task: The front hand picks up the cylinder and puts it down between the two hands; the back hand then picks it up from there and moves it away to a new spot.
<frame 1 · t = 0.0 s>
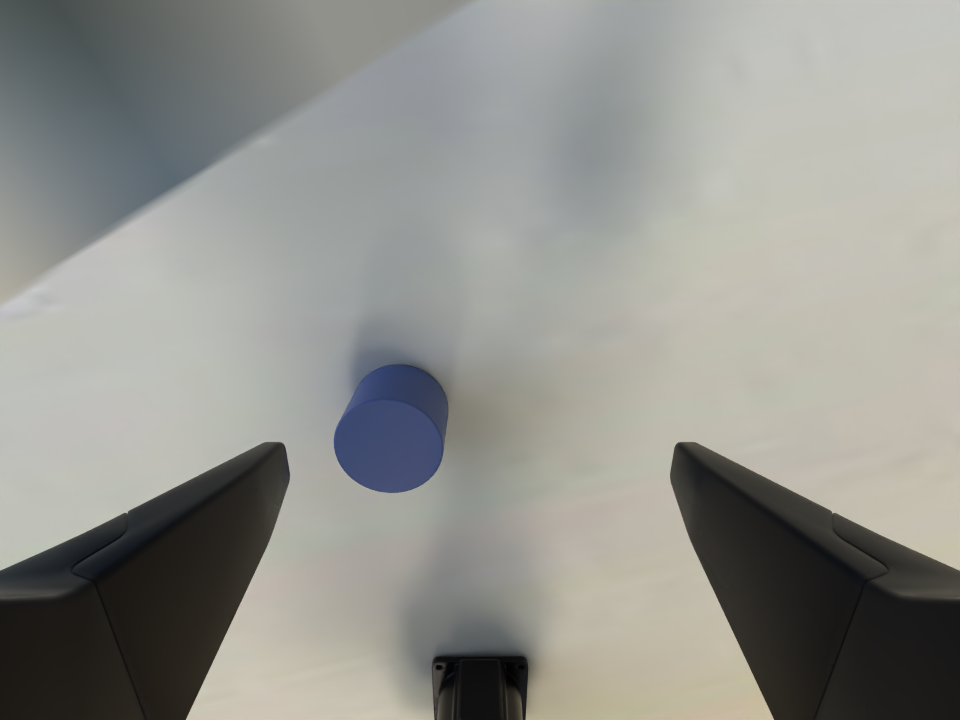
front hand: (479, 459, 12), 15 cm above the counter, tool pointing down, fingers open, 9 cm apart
cylinder: (401, 407, 28), on the counter
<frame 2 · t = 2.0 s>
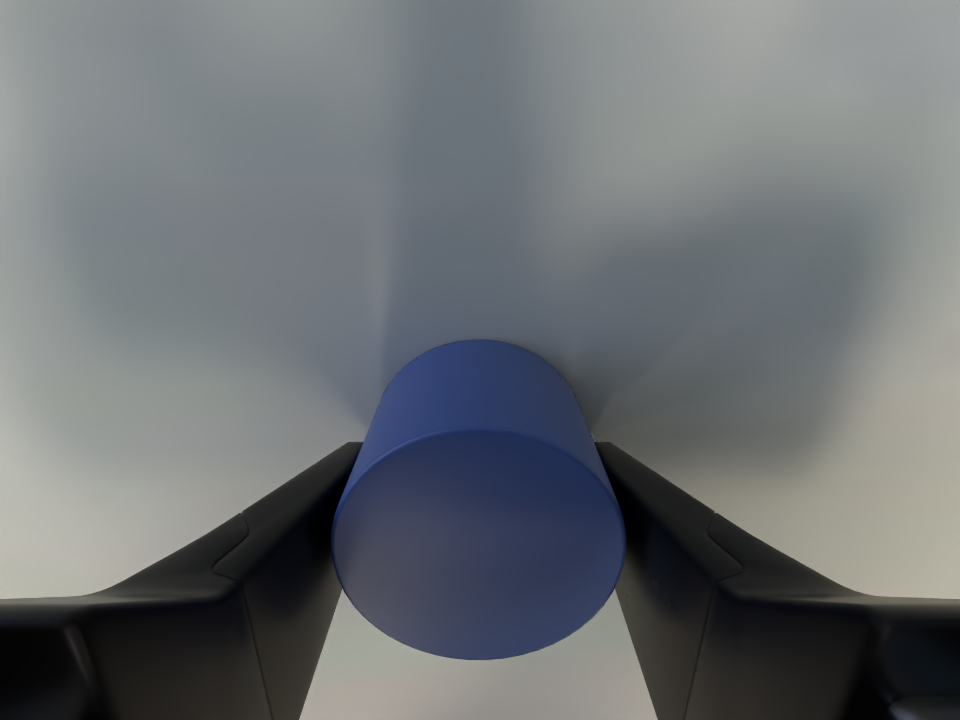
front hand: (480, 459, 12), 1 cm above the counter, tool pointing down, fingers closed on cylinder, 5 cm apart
cylinder: (478, 435, 13), on the counter, touching front hand
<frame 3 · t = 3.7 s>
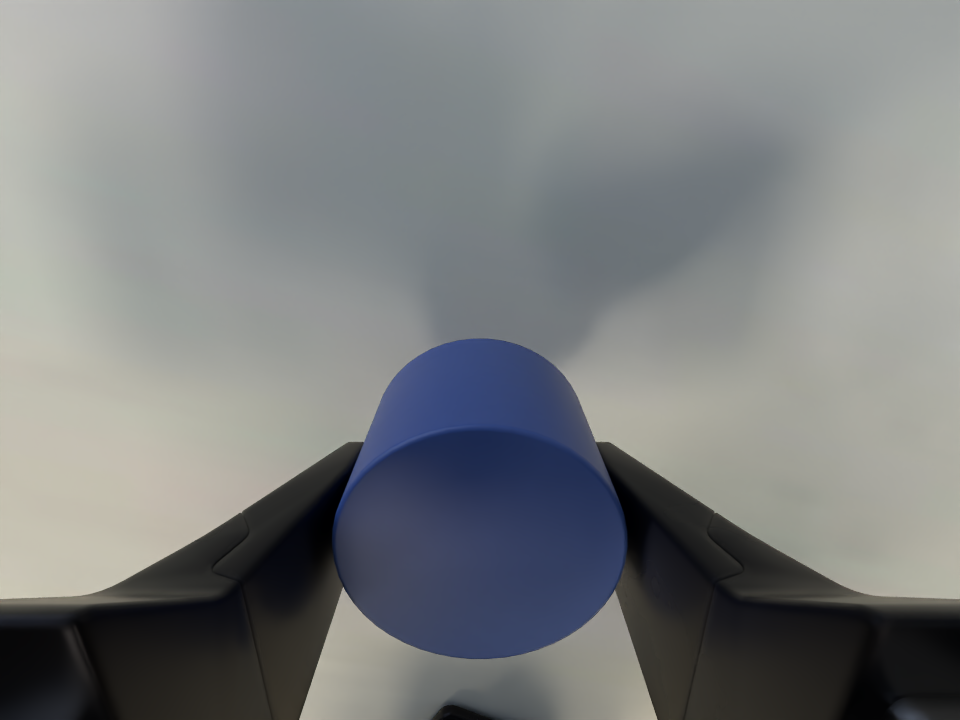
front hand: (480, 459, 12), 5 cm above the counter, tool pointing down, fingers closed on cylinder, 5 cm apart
cylinder: (479, 434, 13), point 4 cm above the counter, touching front hand
when the front hand's fingers open (2 cm above the counter, at t = 5.8 s): cylinder stays where it is, on the counter.
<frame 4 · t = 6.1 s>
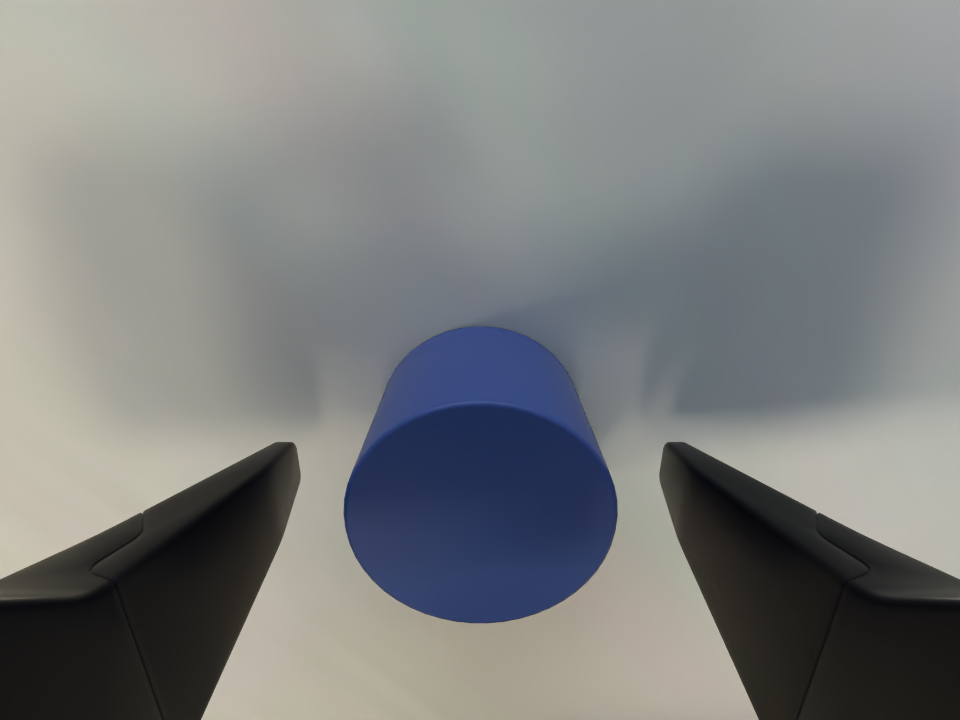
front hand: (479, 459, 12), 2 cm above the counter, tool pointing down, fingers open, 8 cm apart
cylinder: (480, 418, 13), on the counter
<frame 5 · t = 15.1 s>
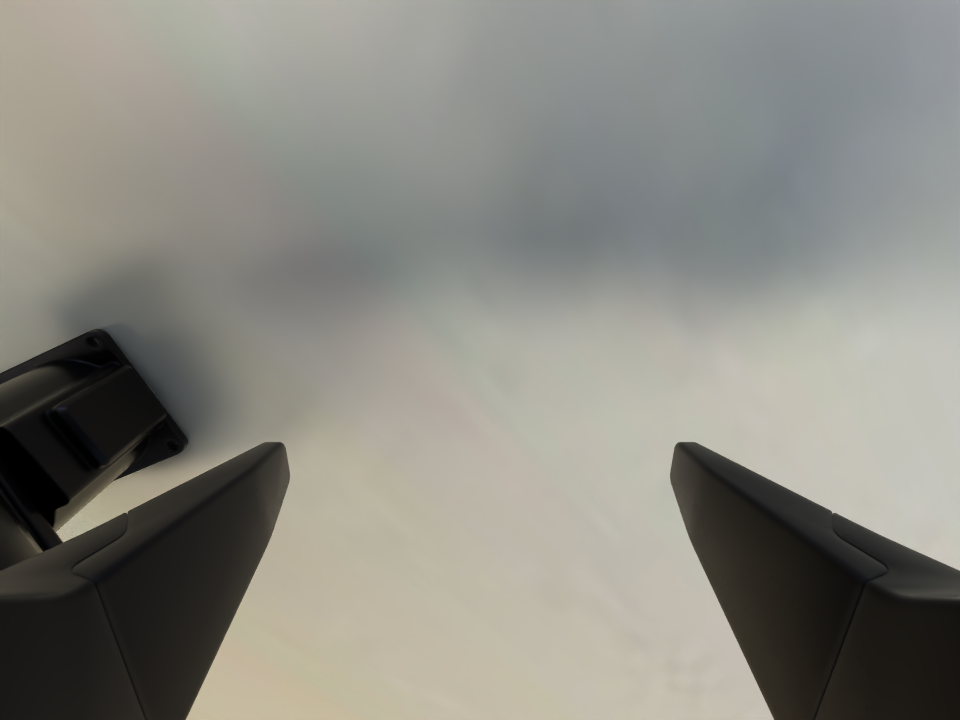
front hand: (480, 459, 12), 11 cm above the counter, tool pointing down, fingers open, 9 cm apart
when the back hand's fingers open (0 cm above the counter, at t = 20.7 s): cylinder stays where it is, on the counter.
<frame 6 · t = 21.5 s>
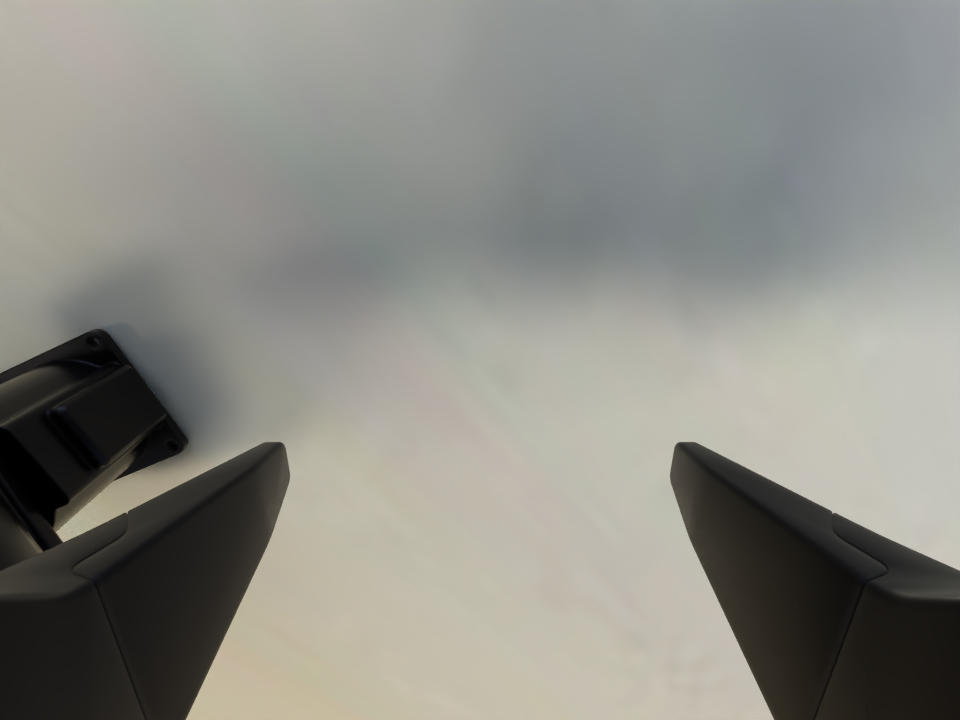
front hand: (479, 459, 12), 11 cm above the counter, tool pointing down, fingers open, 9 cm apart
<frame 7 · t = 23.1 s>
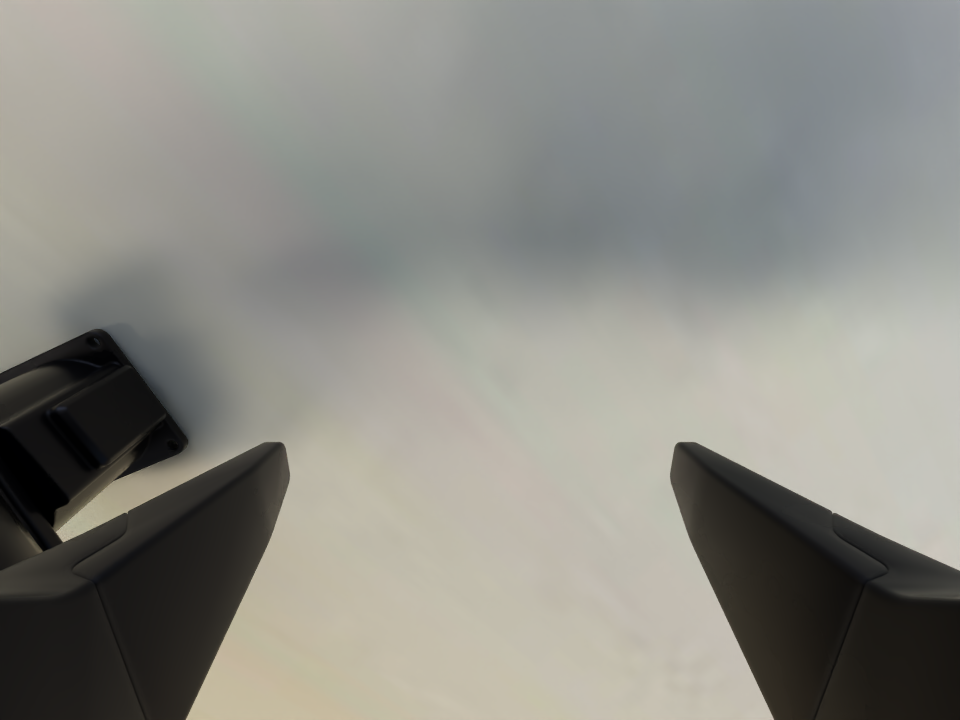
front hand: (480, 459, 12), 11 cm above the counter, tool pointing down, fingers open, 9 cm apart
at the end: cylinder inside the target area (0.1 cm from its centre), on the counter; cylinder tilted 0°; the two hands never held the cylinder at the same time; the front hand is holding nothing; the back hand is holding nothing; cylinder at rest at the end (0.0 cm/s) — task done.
